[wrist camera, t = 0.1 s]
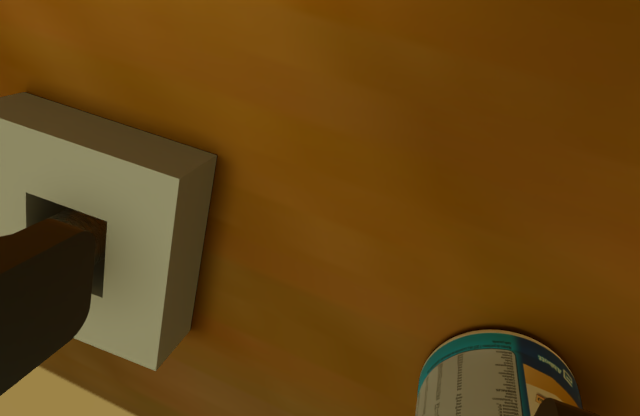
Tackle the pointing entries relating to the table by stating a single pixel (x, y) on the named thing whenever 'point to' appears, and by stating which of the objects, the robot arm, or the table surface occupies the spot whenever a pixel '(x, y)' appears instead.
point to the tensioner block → (113, 215)
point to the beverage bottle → (493, 376)
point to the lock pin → (86, 228)
